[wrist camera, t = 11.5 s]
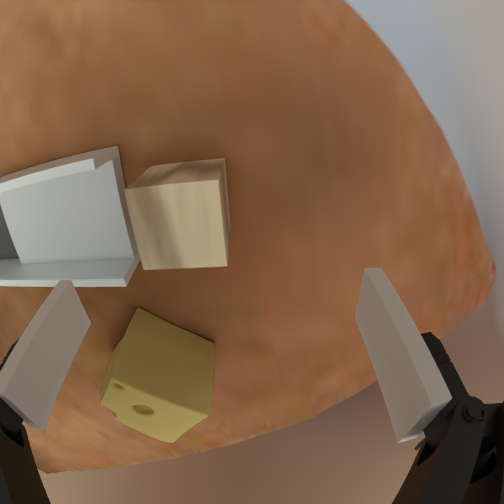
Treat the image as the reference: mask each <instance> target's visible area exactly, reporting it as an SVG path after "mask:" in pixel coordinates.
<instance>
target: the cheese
mask: <svg viewBox="0 0 504 504" xmlns="http://www.w3.org/2000/svg"><path fill="white" fill-rule="evenodd" d="M214 375H215V344H214V343H213V342H211V341H208V340H206V339H204V338H202V337H200V336H198V335H195V334H193V333H191V332H188V331H186V330H184V329H181V328H179V327H177V326H175V325H172V324H170V323H168V322H166V321H164V320H162V319H160V318H158V317H156V316H154V315H152V314H151V313H149V312H147V311H145V310H143V309H141V308H137V310H136V312H135V314H134V316H133V317H132V319H131V321H130V323H129V325H128V328H127V330H126V332H125V335H124V337H123V338H122V339H121V340H120V342H119V343H118V345H117V346H116V348H115V349H114V351H113V352H112V354H111V356H110V358H109V361H108V364H107V374H106V377H105V380H104V381H103V384H102V387H101V390H100V398H101V399H100V401H99V402H100V403H101V404H102V405H104V406H106V407H107V408H109V409H111V411H112V413H113V416H114V418H116V419H117V420H118V421H119V422H121V423H123V424H125V425H127V426H129V427H131V428H133V429H135V430H137V431H140V432H142V433H144V434H146V435H148V436H151V437H153V438H156V439H159V440H162V441H166V442H170V443H173V442H174V441H176V440H177V439H178V437H179V436H181V435H182V434H183V433H184V432H186V431H187V430H188V429H190V428H191V427H193V426H194V425H195V424H197V423H198V422H200V421H201V420H203V419H204V418H206V417H208V416H209V412H210V407H211V402H212V396H213V388H214Z"/></svg>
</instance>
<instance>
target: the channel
mask: <svg viewBox="0 0 504 504" xmlns="http://www.w3.org/2000/svg"><path fill="white" fill-rule="evenodd" d="M124 189H125V183H124V178H123V172H122V167H121V161H120V155H119V148H118V146H113V147H108V148H103V149H99V150H94V151H89V152H85V153H81V154H77V155H73V156H69V157H65V158H61V159H57V160H53V161H50V162H46V163H43V164H39V165H36V166H33V167H30V168H26V169H23V170H20V171H17V172H14V173H11V174H8V175H5V176H3V177H0V286H28V287H55V286H56V285H57V283H58V282H59V281H60V280H72V283H73V285H74V287H126V286H127V284H128V282H129V280H130V278H131V277H132V275H133V273H134V271H135V269H136V267H137V265H138V263H139V261H140V259H141V258H140V255H139V251H138V247H137V243H136V239H135V236H134V231H133V227H132V223H131V219H130V215H129V210H128V206H127V201H126V196H125V191H124Z"/></svg>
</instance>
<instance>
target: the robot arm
mask: <svg viewBox="0 0 504 504" xmlns="http://www.w3.org/2000/svg"><path fill="white" fill-rule="evenodd" d="M354 318H355V320H356V323H357V325H358V328H359V330H360V333H361V336H362V338H363V341H364V343H365V346H366V349H367V351H368V354H369V357H370V360H371V362H372V365H373V368H374V371H375V374H376V376H377V379H378V382H379V385H380V388H381V391H382V394H383V397H384V400H385V403H386V406H387V409H388V412H389V415H390V419H391V422H392V425H393V428H394V432H395V435H396V438H397V442H398V443H400V442H404V441H407V440H410V439H413V438H416V437H417V436H418V435H419V434H420V433H421V432H422V431H424V434H425V436H426V437H425V438H424V439H423V440H422V441H421V442H420V443H419V444H418V445H417V446H416V448H415V450H418V449H419V448H420V449H419V451H418V454H417V456H416V458H415V460H414V463H413V465H412V467H411V469H410V471H409V473H408V475H407V477H406V479H405V481H404V483H403V485H402V487H401V488H400V490H399V492H398V494H397V496H396V497H395V499H394V501H393V503H392V504H504V401H503V402H502V403H495V404H483V402H482V401H481V400H480V399H478V398H476V397H472V396H469V394H468V393H467V391H466V389H465V387H464V385H463V383H462V381H461V379H460V377H459V375H458V373H457V371H456V369H455V367H454V365H453V363H452V362H450V358H449V356H448V354H446V350H445V349H444V347H443V345H442V343H441V342H440V340H439V339H438V338H436V337H435V336H434V335H433V334H432V333H431V332H428V333H423V334H420V332H419V330H418V329H417V327H416V325H415V323H414V322H413V320H412V318H411V316H410V315H409V313H408V311H407V309H406V308H405V306H404V304H403V303H402V301H401V299H400V298H399V296H398V294H397V293H396V291H395V289H394V288H393V286H392V284H391V283H390V281H389V280H388V278H387V276H386V275H385V273H384V272H383V270H382V269H381V267H380V268H366V269H365V270H364V275H363V280H362V285H361V289H360V294H359V299H358V303H357V307H356V312H355V316H354ZM90 324H91V322H90V320H89V318H88V316H87V314H86V312H85V310H84V307H83V305H82V303H81V301H80V299H79V297H78V294H77V292H76V290H75V287H74V285H73V283H72V280H60V281H59V282H58V283H57V285H56V286H55V287H54V289H53V290H52V291H51V293H50V294H49V295H48V297H47V298H46V300H45V301H44V303H43V304H42V305H41V307H40V308H39V310H38V311H37V313H36V314H35V316H34V317H33V319H32V320H31V322H30V323H29V325H28V326H27V328H26V329H25V331H24V332H23V334H22V336H21V337H20V338H19V339H18V340H17V341H16V342H15V343H14V344H13V345H12V346H11V348H10V350H9V351H8V353H7V356H6V357H5V358H4V360H3V363H2V364H1V365H0V504H51V503H50V501H49V498H48V496H47V494H46V491H45V489H44V486H43V483H42V481H41V478H40V475H39V473H38V470H37V467H36V464H35V460H34V457H33V454H32V451H31V447H30V444H29V440H28V436H27V432H26V429H25V427H24V426H23V425H22V422H23V420H24V421H25V422H26V423H27V424H29V425H30V426H31V427H32V428H35V429H38V430H40V431H43V432H44V430H45V427H46V424H47V421H48V419H49V416H50V414H51V411H52V408H53V406H54V403H55V401H56V398H57V396H58V393H59V391H60V389H61V386H62V384H63V382H64V379H65V377H66V375H67V372H68V370H69V368H70V366H71V364H72V361H73V359H74V357H75V355H76V353H77V351H78V349H79V347H80V344H81V342H82V340H83V338H84V336H85V334H86V332H87V330H88V328H89V326H90Z"/></svg>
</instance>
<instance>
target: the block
mask: <svg viewBox="0 0 504 504" xmlns="http://www.w3.org/2000/svg"><path fill="white" fill-rule="evenodd" d="M124 191H125V196H126V201H127V206H128V210H129V215H130V219H131V223H132V227H133V231H134V236H135V239H136V243H137V247H138V251H139V255H140V258H141V262H142V266H143V269H144V270H155V269H178V268H200V267H221V266H227V262H228V251H229V240H230V229H231V226H230V214H229V203H228V191H227V179H226V166H225V158H221V159H209V160H198V161H188V162H179V163H170V164H162V165H154V166H150V167H149V168H148V169H147V170H146V171H145V172H143V173H142V174H141V175H140V176H139V177H138V178H137V179H135V180H134V181H133V182H132V183H131V184H130V185H129V186H128V187H126V188H125V189H124Z"/></svg>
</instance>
